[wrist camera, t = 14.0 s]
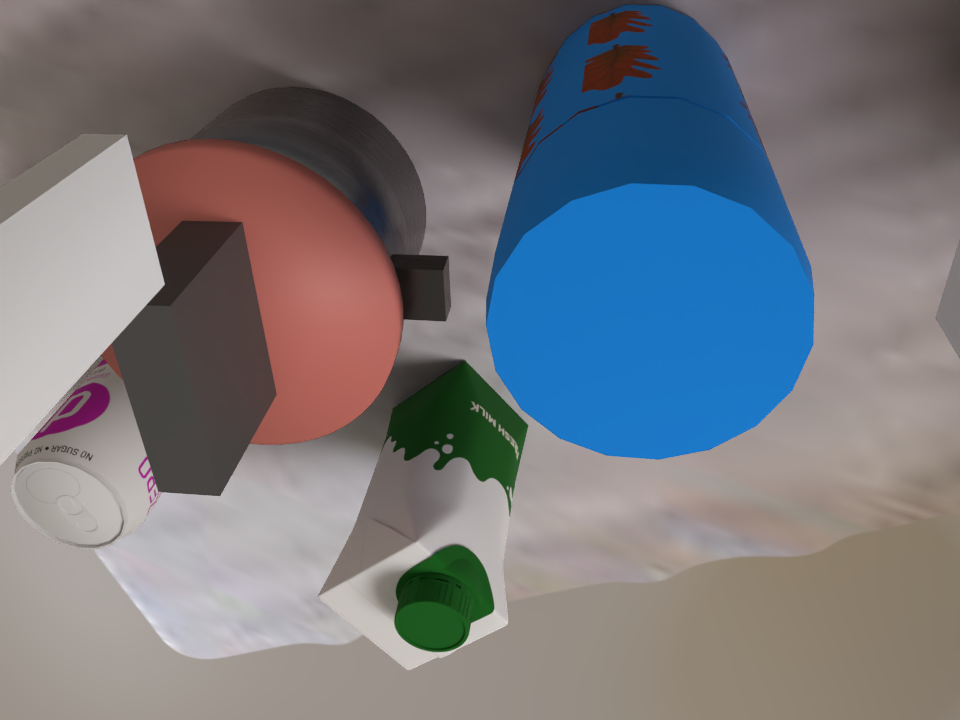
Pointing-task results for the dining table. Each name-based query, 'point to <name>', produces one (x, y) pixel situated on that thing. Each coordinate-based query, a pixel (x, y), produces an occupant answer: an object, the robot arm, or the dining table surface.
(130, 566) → the dining table surface
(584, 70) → the thermos
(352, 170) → the pot
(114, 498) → the supplement can
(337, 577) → the milk carton
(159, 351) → the lid
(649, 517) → the dining table surface
